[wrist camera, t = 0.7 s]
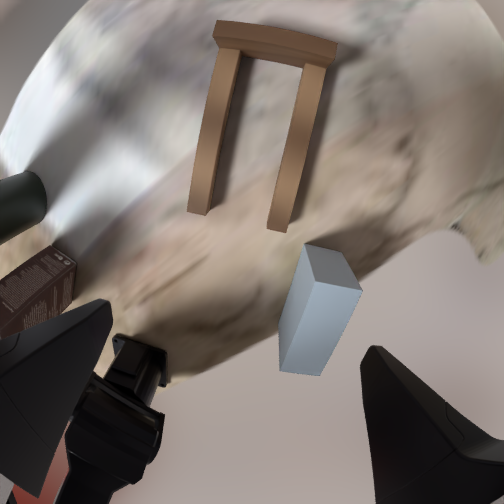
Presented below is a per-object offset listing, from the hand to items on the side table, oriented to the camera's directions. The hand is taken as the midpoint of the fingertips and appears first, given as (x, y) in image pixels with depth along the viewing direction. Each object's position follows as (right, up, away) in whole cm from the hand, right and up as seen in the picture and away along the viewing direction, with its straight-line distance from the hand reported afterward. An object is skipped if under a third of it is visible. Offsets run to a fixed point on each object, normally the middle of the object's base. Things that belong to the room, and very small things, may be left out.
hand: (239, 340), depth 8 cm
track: (+1, +11, +10) cm, 15 cm away
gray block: (+5, 0, +14) cm, 15 cm away
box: (-20, +1, +16) cm, 26 cm away
